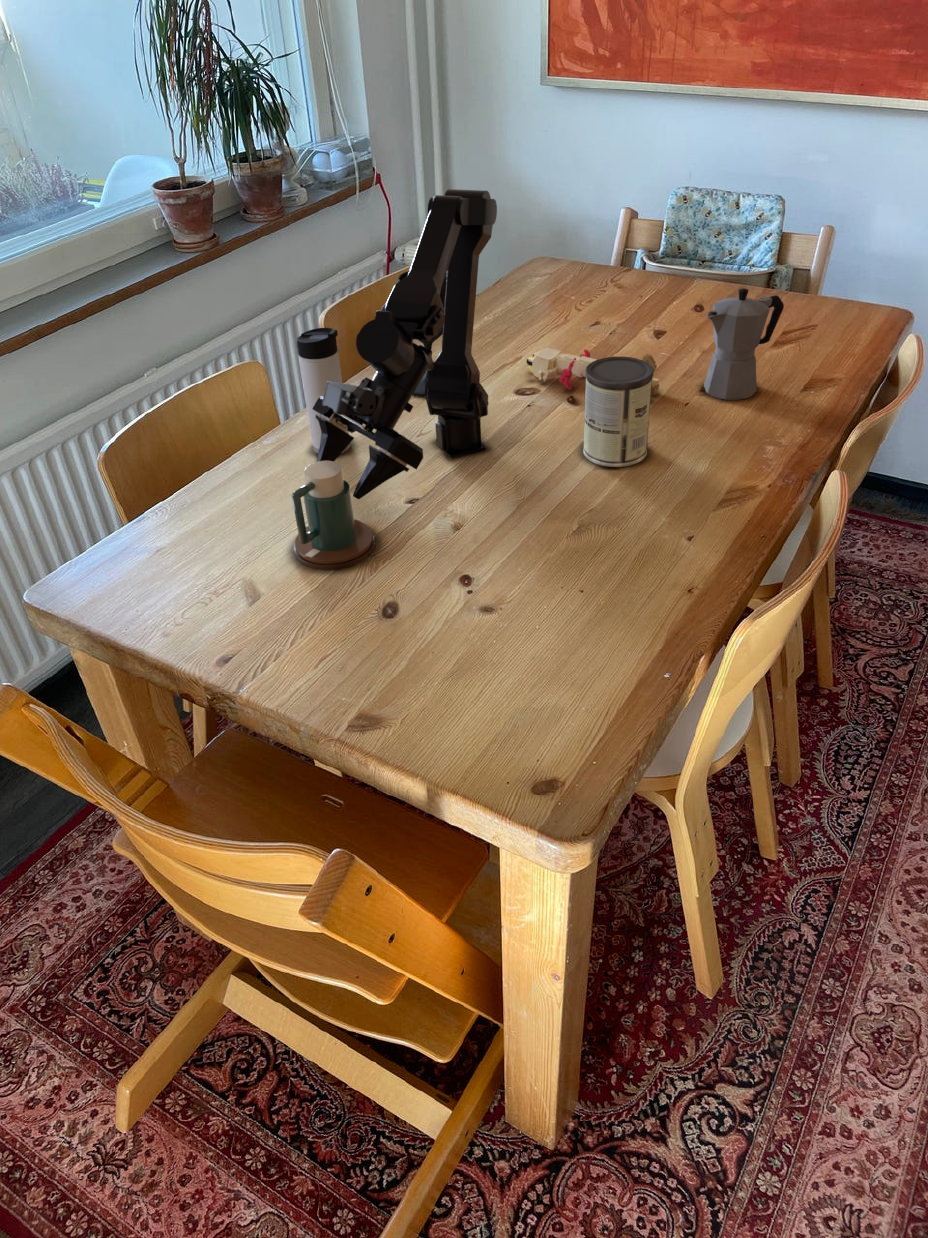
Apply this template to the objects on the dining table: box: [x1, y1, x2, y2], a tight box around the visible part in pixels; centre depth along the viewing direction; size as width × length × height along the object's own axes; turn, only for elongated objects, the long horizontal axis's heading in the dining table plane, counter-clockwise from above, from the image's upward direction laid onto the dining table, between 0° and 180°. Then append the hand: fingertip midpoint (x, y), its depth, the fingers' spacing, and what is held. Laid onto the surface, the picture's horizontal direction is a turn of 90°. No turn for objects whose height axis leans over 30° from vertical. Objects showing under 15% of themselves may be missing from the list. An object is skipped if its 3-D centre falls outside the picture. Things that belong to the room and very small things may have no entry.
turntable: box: [292, 531, 377, 571], centre depth 133 cm, size 12×12×1 cm
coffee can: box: [582, 356, 655, 468], centre depth 147 cm, size 10×10×14 cm
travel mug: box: [295, 327, 351, 455], centre depth 151 cm, size 6×7×20 cm
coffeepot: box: [703, 287, 785, 401], centre depth 162 cm, size 15×9×18 cm, turn 113°
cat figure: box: [524, 346, 660, 396], centre depth 169 cm, size 10×9×25 cm
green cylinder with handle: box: [291, 461, 374, 564], centre depth 129 cm, size 12×11×12 cm
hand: (336, 485), depth 128 cm, fingers open, 9 cm apart
